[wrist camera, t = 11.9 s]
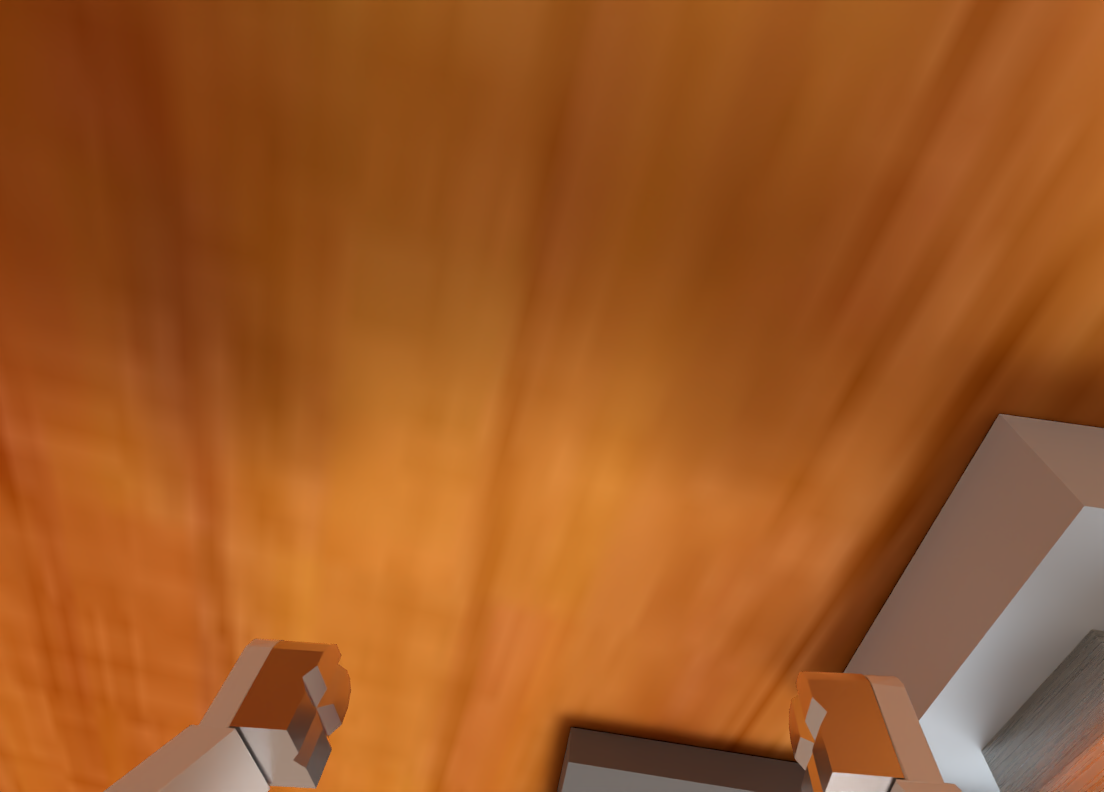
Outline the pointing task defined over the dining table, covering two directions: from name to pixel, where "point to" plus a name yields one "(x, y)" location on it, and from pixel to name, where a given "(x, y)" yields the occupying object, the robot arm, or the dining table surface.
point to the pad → (667, 767)
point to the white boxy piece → (1057, 729)
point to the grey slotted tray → (996, 589)
